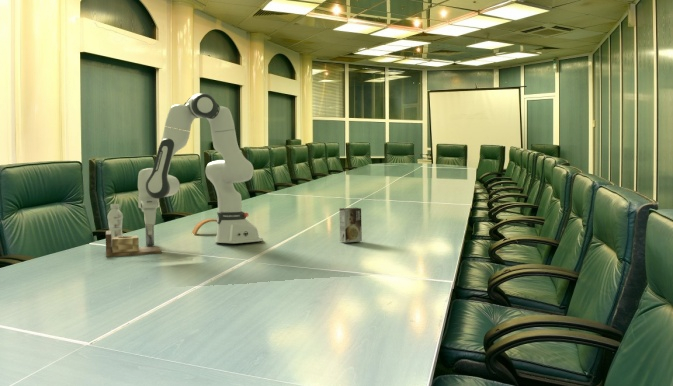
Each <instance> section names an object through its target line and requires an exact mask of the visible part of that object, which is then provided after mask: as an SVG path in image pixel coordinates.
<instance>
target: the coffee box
mask: <svg viewBox="0 0 673 386" xmlns="http://www.w3.org/2000/svg"><path fill="white" fill-rule="evenodd" d="M362 232H363V231H362V208H361V207H344V208H341V207H340V208H339V242H341V241H342V242H343V243H345V244H346V243H354V242H362V240H363V239H362V238H363V237H362V235H363V234H362Z"/></svg>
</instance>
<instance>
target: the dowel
mask: <svg viewBox="0 0 673 386" xmlns="http://www.w3.org/2000/svg"><path fill="white" fill-rule="evenodd" d="M144 224H145V223H144ZM144 226H145V227H144V229H145V247H153V246H155V225H154V226H152V235H148V228H147V226H146V224H145V225H144Z"/></svg>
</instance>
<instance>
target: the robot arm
mask: <svg viewBox="0 0 673 386" xmlns="http://www.w3.org/2000/svg"><path fill="white" fill-rule="evenodd" d="M195 119H206V120H207V121H208V123H209V126H210V135H211V139H212V145H213V149H214V150H215V151H216V152H218V153H219V154H220V155H221V157H222V159H216V160H213V161H210V162H208V163H207V165H206V167H205V176H206V178H207V180H208V181H210V183H212V186H214V190H215V193H216V196H217V212H216V220H217V222H216V223H217V228H216V236H215V240H214V242H215V243H217V244H218V243H221V244H243V243H255V242H263V241H264V237H262V236H260V234H259V231H258V228H257V226H256V225H254V224H252V222H250V221H249V220H248V219H246V218H248V217H250V216H249V212H245V211H243V208H242V206H243V203H242V201H243V200H242V195H241V193H240V192H239V191H237V190H236V188H235V186H234V183H236V184H237V183H238V184H239V183H245V182H248V181H250V180H252V177H253V175H254V173H255V171H254V170H255V169H254V166H253V164H252V162H251V161H250V160H248V159H247V158H246V157H245V155H244V154H243V153H242V151H241V149H240V147H239V145H238V139H237V135H236V134H237V133H236V129H235V121H234V118H233V115H232V113H231V110H230V108H229V107H226V106H222V105H219V104H218V102H217V101H216V100H215V98H214V97H213V96H212V95H211V94H209V93H207V92H206V93H205V92H199V93H194V94H193V95H191V96H190V97H189V98H188V100H186V101H185V102H184V104H181V103H177V104H173V105H172V106H170V108H169V111H168V113H167V117H166V118H165V123H164V129H163V133H162V137H161V140H160V144H159V147H158V150H157V154H156V157H155V160H154V164H153V167H147V168H142V169H140V171H138V176H137V189H138V195H137V196H138V197H137V200H138V201H137V202H138V203H137V204H138V208H139V209H141V212H142V213H143V216H144V219H143V220H144V224H146V226H147V228H148V235H152V226H154V227H155V225H156V216H157V209H158V208H160V199H162V198H167V197H170V196H171V197H172V196H174V195H176V194H177V193H179V191H180V188H181V184H180V181H179V179H178V177H176V176H174V175H171V174H169V171H170V168H171V163H172V159H173V157H174V156H175V154H176V153H177V152H178V151H180V150H182V149H183V148H184V147H186V146H187V143H188V141H189V139H190V133H191V128H192V124H193V122H194V120H195Z"/></svg>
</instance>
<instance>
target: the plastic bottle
mask: <svg viewBox="0 0 673 386" xmlns="http://www.w3.org/2000/svg"><path fill="white" fill-rule="evenodd" d="M106 217H107V218H106V219H107V223H108V231H111V239H112V237H118V236H124V235H123V218H124V214H123V212H122V211H121V210H120V203H110V210H109V211H108V213H107V216H106Z"/></svg>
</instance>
